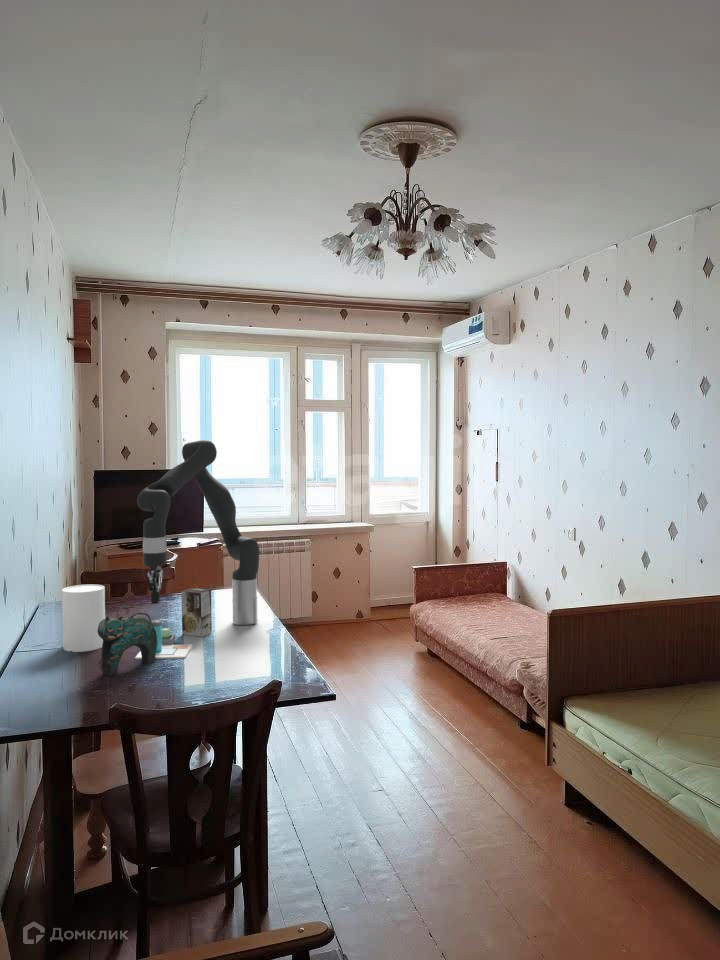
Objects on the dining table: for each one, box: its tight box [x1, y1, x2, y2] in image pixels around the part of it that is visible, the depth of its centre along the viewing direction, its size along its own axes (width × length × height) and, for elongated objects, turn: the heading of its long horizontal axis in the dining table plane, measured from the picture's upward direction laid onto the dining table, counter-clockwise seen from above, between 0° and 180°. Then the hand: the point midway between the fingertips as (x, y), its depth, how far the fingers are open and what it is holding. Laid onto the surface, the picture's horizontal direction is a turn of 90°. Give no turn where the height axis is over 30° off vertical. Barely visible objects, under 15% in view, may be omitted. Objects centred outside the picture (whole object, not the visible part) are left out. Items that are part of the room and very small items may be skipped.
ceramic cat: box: [98, 605, 157, 677], centre depth 218 cm, size 20×6×20 cm, turn 146°
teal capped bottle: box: [151, 619, 163, 653], centre depth 233 cm, size 4×4×10 cm
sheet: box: [134, 643, 194, 661], centre depth 235 cm, size 16×14×1 cm
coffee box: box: [180, 587, 213, 638], centre depth 258 cm, size 9×6×16 cm
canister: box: [61, 583, 106, 653], centre depth 242 cm, size 14×14×20 cm
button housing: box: [162, 634, 176, 645], centre depth 245 cm, size 6×6×2 cm
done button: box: [162, 627, 171, 639], centre depth 245 cm, size 4×4×3 cm
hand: (155, 602), depth 233 cm, fingers closed
